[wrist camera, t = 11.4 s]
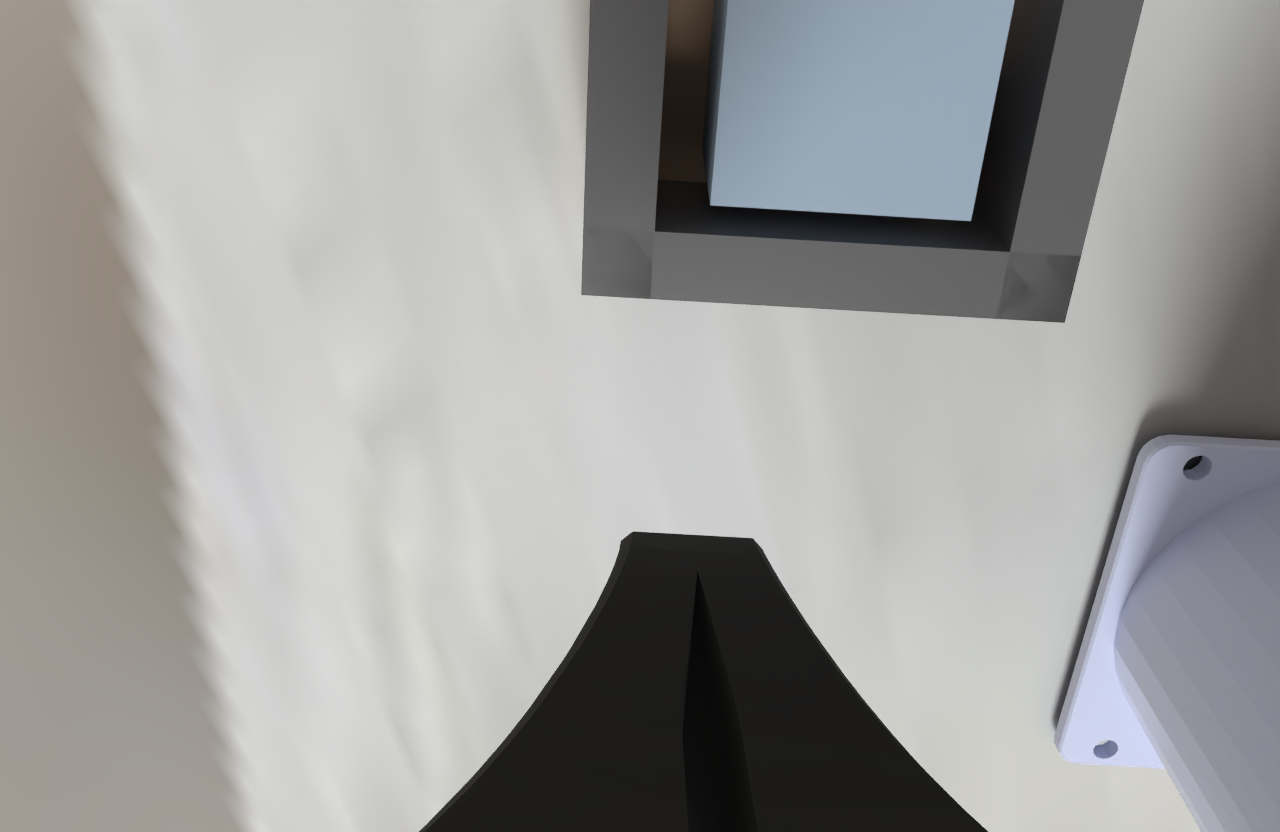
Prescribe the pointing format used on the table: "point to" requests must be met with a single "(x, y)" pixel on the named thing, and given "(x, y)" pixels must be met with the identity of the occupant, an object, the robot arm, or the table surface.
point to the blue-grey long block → (852, 104)
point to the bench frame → (837, 242)
